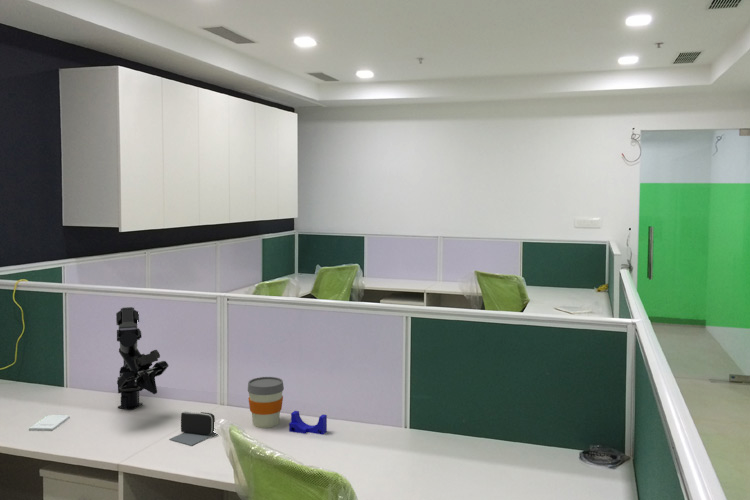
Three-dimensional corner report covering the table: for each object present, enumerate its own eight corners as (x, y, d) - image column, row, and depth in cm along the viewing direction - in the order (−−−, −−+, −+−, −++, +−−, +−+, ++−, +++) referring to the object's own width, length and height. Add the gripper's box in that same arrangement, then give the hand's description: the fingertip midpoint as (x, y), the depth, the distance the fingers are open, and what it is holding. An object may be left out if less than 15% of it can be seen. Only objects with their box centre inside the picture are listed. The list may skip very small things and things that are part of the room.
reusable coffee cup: (272, 431, 225) (271, 389, 224) (240, 426, 230) (240, 384, 228) (290, 419, 237) (290, 379, 235) (260, 414, 241) (259, 374, 240)
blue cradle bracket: (289, 431, 226) (289, 414, 225) (295, 427, 230) (295, 410, 229) (321, 436, 222) (321, 419, 221) (326, 431, 226) (326, 414, 225)
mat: (169, 439, 217) (169, 438, 217) (200, 426, 230) (200, 425, 230) (191, 446, 213) (191, 445, 213) (221, 431, 225) (221, 431, 225)
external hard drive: (69, 419, 237) (52, 432, 224) (47, 419, 237) (28, 432, 225) (69, 415, 237) (52, 428, 224) (47, 414, 237) (28, 427, 224)
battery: (186, 429, 226) (216, 432, 224) (180, 432, 223) (210, 436, 220) (186, 409, 226) (216, 412, 223) (180, 412, 223) (211, 415, 220)
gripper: (121, 349, 222) (145, 387, 217) (164, 338, 238) (187, 373, 234) (106, 369, 226) (129, 406, 222) (149, 357, 243) (171, 391, 238)
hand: (155, 393), depth 229 cm, fingers closed
